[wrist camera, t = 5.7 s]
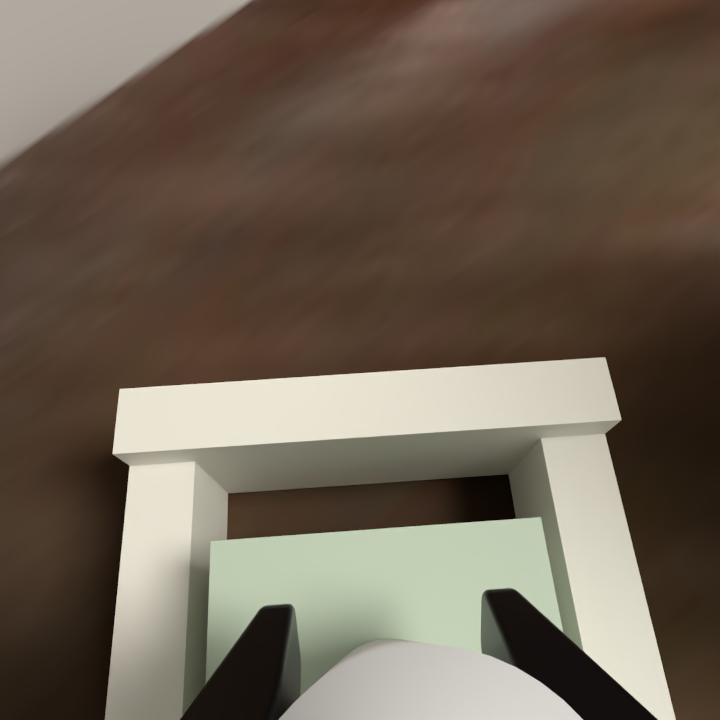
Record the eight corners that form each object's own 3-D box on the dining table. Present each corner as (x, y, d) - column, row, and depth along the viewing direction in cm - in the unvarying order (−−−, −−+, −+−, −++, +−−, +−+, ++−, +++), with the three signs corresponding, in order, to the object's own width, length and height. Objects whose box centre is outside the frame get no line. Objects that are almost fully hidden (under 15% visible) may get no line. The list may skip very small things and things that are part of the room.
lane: (682, 1055, 12) (847, 1279, 8) (136, 1102, 12) (12, 1352, 8) (550, 421, 18) (605, 357, 13) (178, 445, 17) (119, 388, 13)
